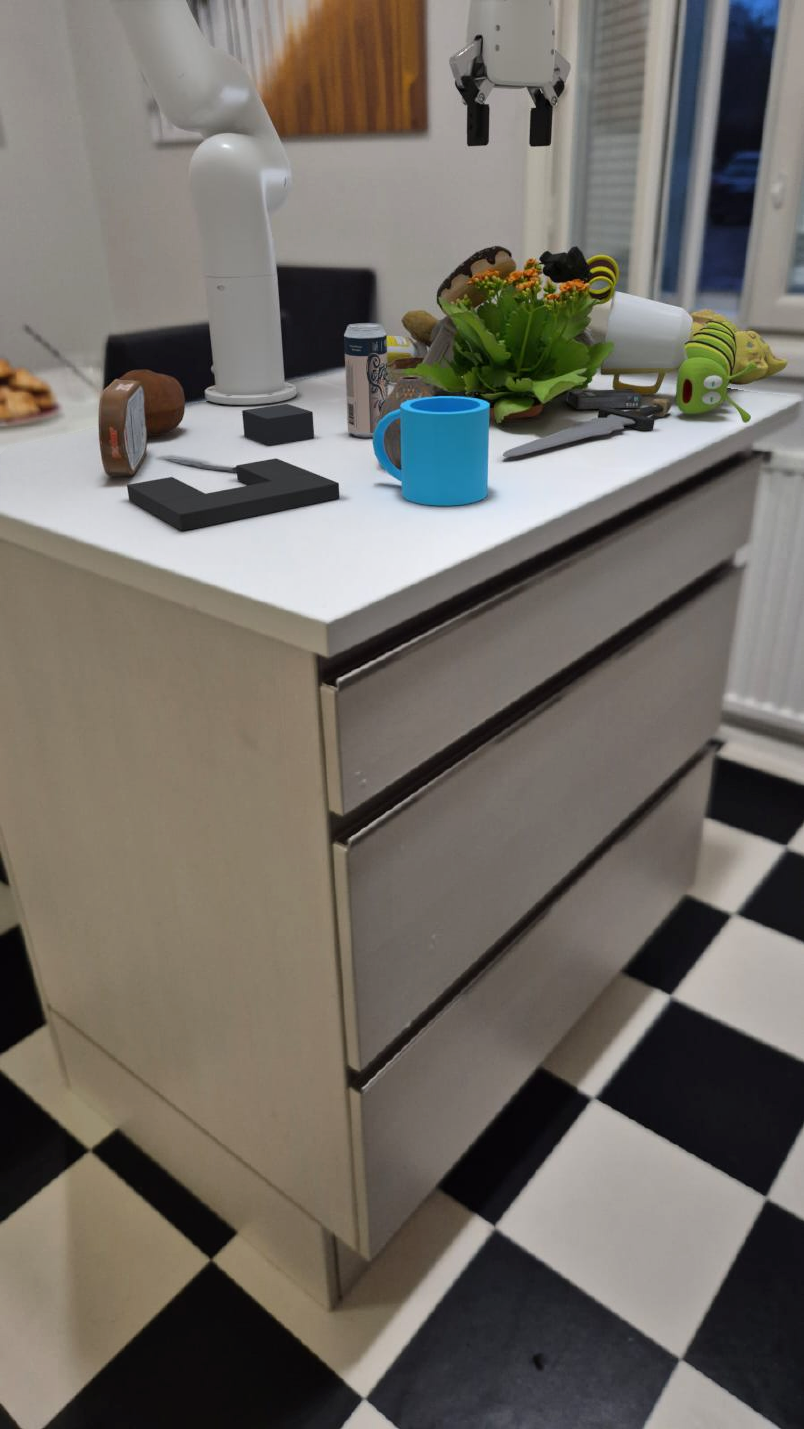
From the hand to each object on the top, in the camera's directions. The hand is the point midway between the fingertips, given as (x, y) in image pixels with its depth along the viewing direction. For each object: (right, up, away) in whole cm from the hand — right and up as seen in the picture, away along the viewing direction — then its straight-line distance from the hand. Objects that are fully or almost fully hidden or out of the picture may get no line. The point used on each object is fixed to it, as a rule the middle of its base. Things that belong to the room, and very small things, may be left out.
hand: (509, 146), depth 116 cm
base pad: (-28, -46, -23) cm, 59 cm away
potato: (-43, -34, +2) cm, 54 cm away
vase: (-12, -41, -12) cm, 44 cm away
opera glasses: (+9, -12, +10) cm, 18 cm away
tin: (-41, -41, -11) cm, 59 cm away
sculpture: (-6, -11, +31) cm, 33 cm away
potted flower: (0, -28, +10) cm, 30 cm away
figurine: (+28, -12, +28) cm, 41 cm away
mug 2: (+25, -19, +12) cm, 34 cm away
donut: (-2, -13, +10) cm, 17 cm away
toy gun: (+5, -10, +6) cm, 13 cm away
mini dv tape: (+14, -27, +10) cm, 32 cm away
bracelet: (-11, -17, +30) cm, 37 cm away
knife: (-32, -41, -12) cm, 53 cm away
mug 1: (-10, -45, -21) cm, 51 cm away
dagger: (+15, -26, +9) cm, 32 cm away
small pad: (-27, -34, 0) cm, 44 cm away
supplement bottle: (-19, -13, +32) cm, 39 cm away
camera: (-8, -19, +24) cm, 32 cm away
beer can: (-17, -34, 0) cm, 38 cm away
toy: (+25, -20, +13) cm, 34 cm away
